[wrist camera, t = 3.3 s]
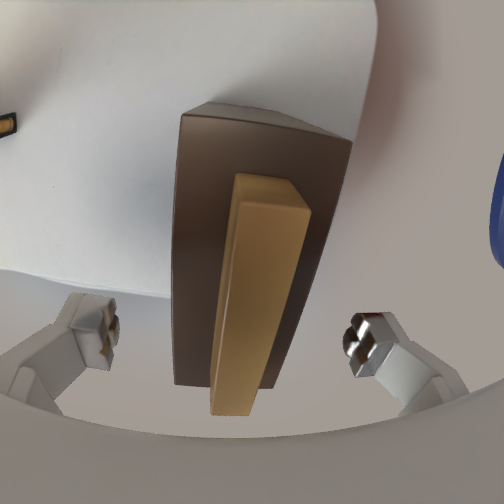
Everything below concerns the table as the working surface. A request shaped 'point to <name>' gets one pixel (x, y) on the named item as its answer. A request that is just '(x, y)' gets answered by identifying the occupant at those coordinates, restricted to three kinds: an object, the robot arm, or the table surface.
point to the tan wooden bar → (254, 286)
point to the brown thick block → (218, 209)
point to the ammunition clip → (7, 124)
